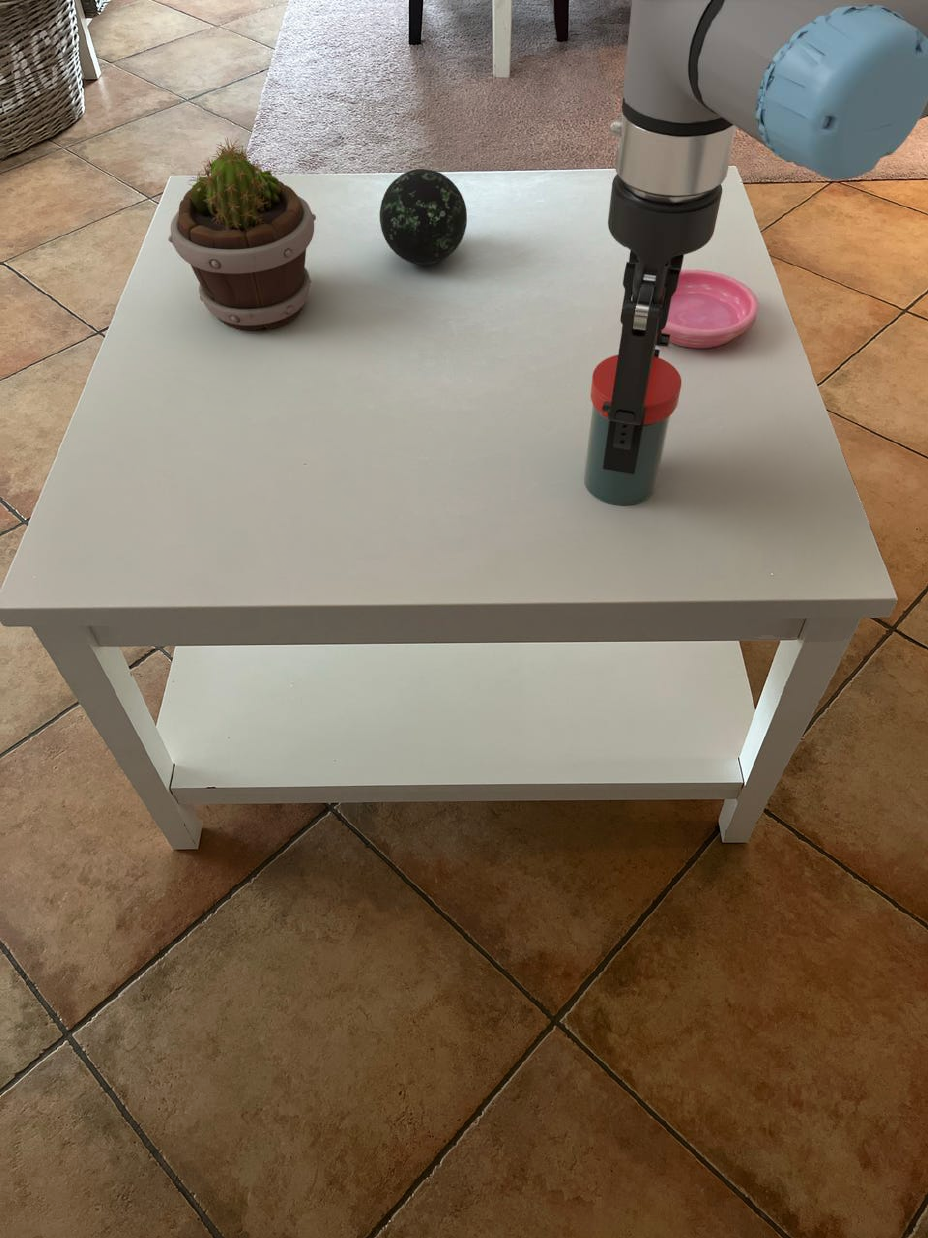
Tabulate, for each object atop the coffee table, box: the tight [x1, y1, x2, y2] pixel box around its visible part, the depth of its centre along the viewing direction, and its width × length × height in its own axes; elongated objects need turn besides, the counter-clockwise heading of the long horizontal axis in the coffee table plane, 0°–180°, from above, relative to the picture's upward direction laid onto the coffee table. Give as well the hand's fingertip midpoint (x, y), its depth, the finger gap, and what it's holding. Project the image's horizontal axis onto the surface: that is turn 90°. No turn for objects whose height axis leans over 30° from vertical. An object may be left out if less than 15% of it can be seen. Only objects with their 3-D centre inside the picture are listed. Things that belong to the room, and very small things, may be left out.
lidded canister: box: [583, 404, 671, 506], centre depth 80 cm, size 7×7×11 cm
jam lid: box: [590, 354, 682, 425], centre depth 76 cm, size 7×7×2 cm
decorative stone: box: [379, 168, 468, 266], centre depth 105 cm, size 10×10×10 cm
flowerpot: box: [168, 137, 317, 331], centre depth 95 cm, size 14×15×20 cm
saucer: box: [662, 269, 759, 349], centre depth 98 cm, size 12×12×3 cm
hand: (626, 438), depth 80 cm, fingers closed on jam lid, 7 cm apart
